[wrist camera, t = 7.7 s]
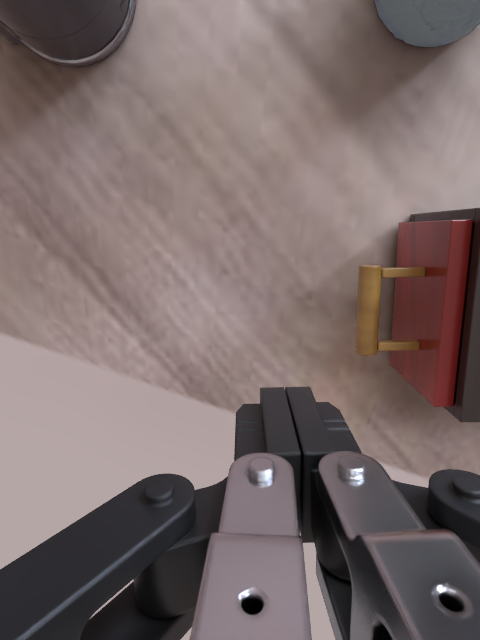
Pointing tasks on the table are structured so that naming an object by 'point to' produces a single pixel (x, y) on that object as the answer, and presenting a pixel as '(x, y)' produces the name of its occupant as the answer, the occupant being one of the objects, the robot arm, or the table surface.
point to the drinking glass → (429, 20)
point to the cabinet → (466, 323)
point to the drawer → (421, 306)
